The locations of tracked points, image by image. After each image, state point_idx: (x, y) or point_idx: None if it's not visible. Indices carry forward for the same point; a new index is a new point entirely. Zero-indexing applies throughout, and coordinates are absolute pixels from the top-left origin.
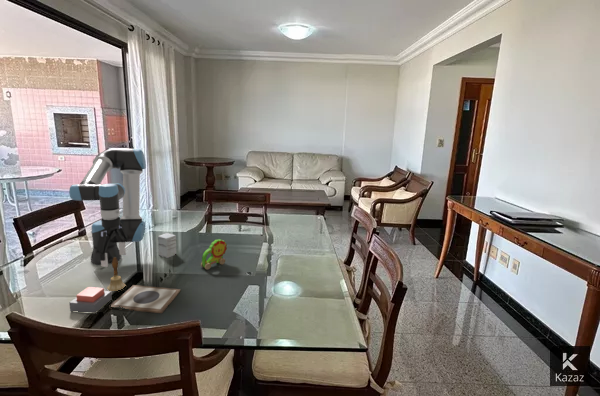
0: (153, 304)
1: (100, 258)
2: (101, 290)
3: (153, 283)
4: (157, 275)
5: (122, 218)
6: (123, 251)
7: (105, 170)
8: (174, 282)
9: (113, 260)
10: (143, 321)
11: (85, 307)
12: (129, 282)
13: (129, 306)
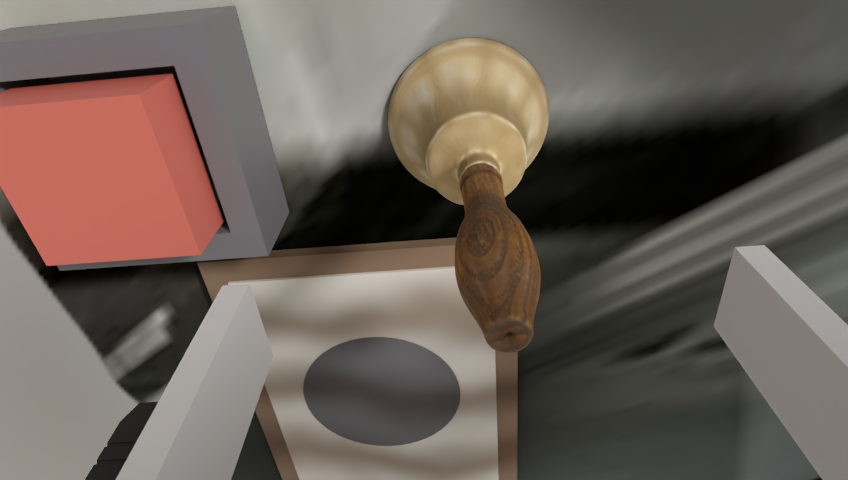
0: (325, 452)
1: (107, 449)
2: (168, 254)
3: (584, 329)
4: (720, 295)
5: None
6: (754, 359)
7: None
8: (612, 423)
9: (473, 306)
10: None
11: None
12: (579, 165)
13: None
